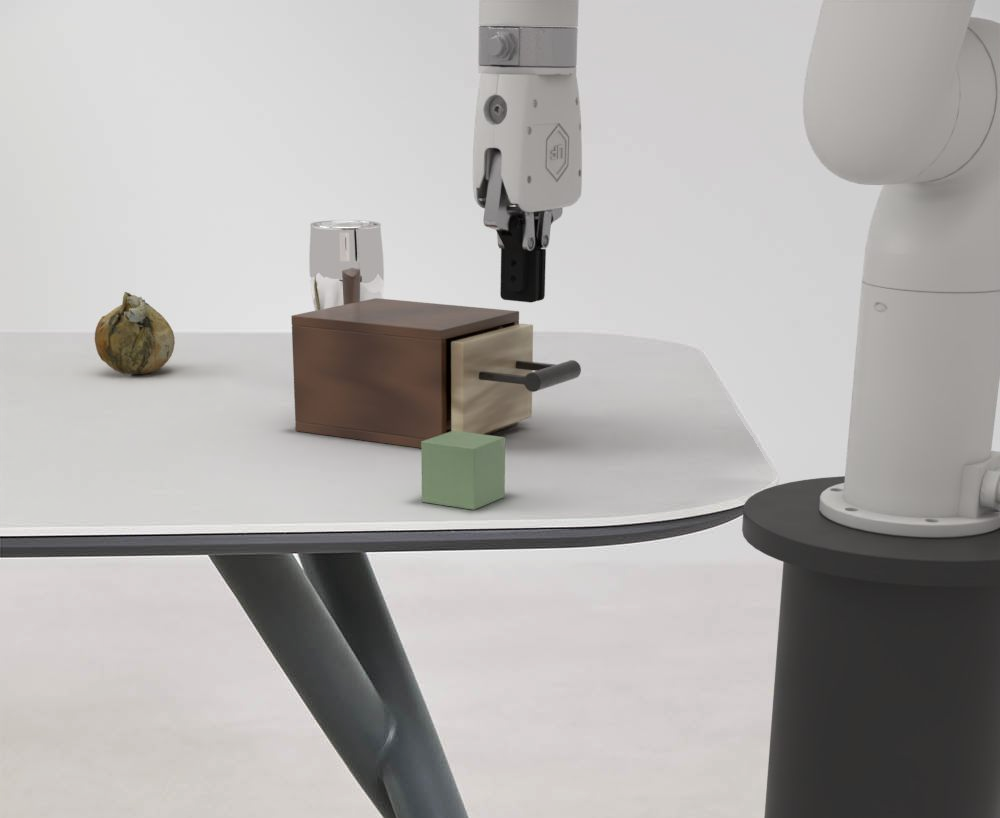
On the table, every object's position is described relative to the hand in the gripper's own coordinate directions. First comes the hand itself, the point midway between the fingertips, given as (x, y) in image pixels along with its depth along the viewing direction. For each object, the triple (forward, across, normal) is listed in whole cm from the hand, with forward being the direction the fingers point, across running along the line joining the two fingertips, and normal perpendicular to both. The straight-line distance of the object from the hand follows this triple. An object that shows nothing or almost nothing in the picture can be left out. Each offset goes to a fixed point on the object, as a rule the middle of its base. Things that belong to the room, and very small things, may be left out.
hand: (522, 299), depth 137 cm
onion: (+12, +8, +48) cm, 50 cm away
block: (+11, -19, -6) cm, 23 cm away
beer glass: (+12, +13, +26) cm, 31 cm away
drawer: (+11, 0, +6) cm, 12 cm away
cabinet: (+12, 0, +11) cm, 16 cm away
